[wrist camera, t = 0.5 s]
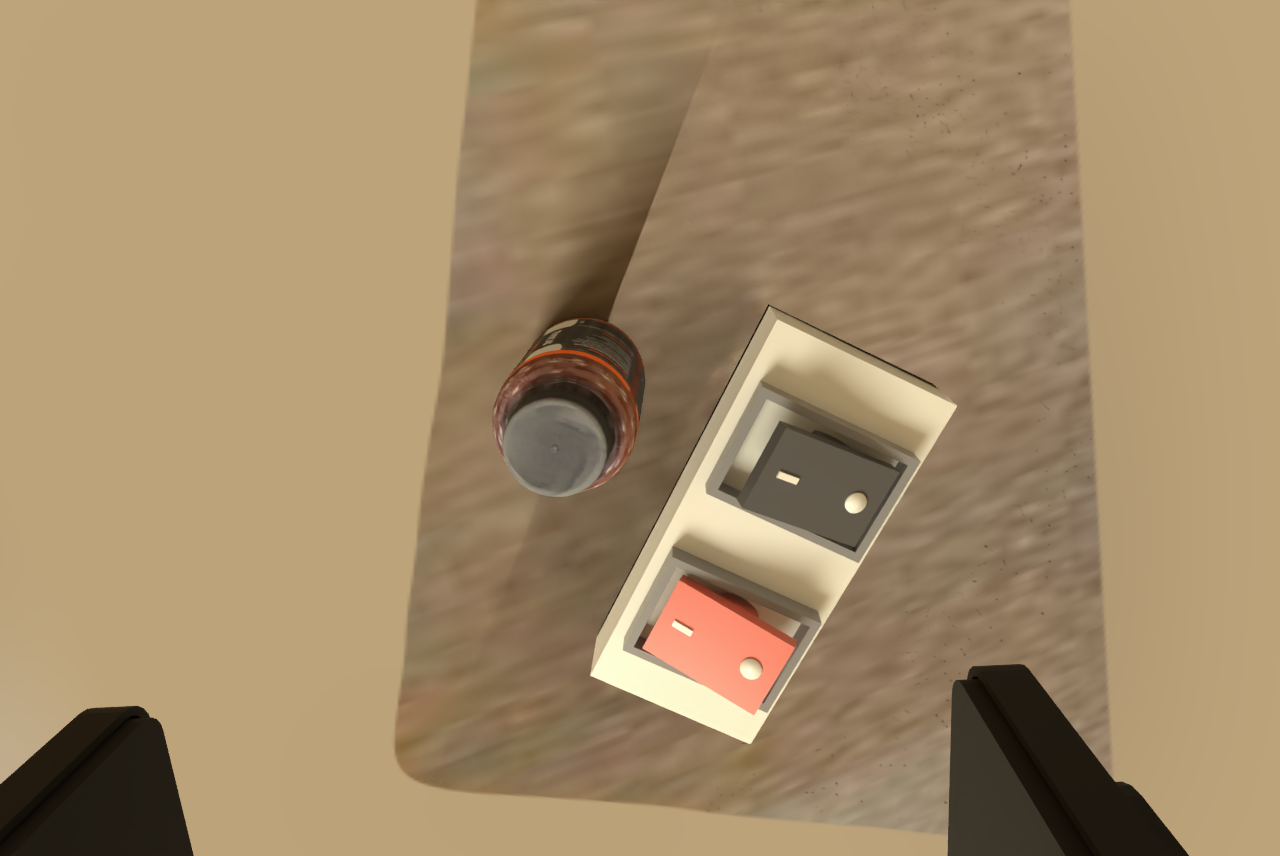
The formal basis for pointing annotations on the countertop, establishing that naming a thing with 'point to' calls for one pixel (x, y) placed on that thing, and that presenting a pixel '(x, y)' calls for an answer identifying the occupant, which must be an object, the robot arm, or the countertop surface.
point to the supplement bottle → (571, 408)
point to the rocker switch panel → (750, 542)
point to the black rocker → (817, 484)
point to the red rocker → (720, 643)
